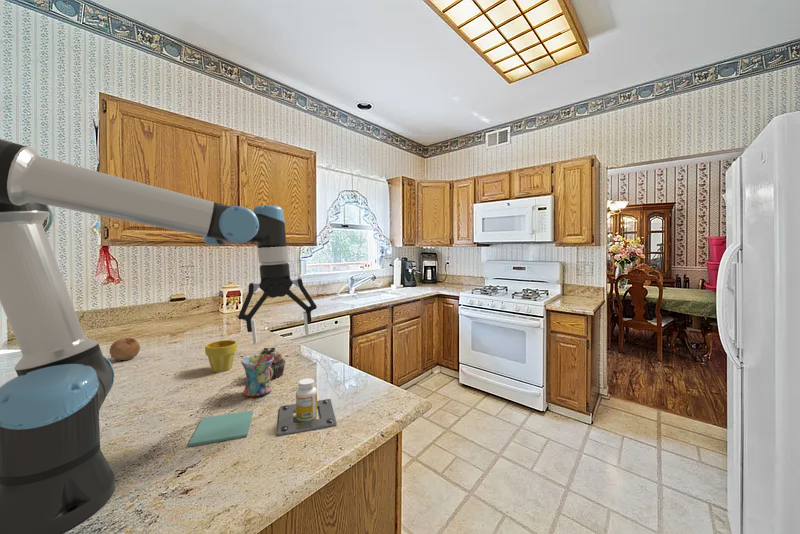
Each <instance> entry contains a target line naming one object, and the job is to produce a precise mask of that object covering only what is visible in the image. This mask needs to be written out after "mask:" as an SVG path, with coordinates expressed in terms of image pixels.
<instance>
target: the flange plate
mask: <svg viewBox="0 0 800 534" xmlns="http://www.w3.org/2000/svg"><path fill="white" fill-rule="evenodd" d="M317 409H319V414H320V418H316V419H312V420H310V421H298V422H294V413H296V403H293V404H287V405H285V404H284V405H280V406H279V415H278V416H279V417H278V425H277V436H278V437H279V436H283V435H289V434H294V433H301V432H306V431H312V430H318V429H323V428H324V429H325V428H330V427H336V426H337V419H336V415H335V412H334V411H335V410H334V407H333V405H332V399H331V398H326V399H320V400H317Z"/></svg>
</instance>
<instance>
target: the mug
mask: <svg viewBox="0 0 800 534" xmlns="http://www.w3.org/2000/svg"><path fill="white" fill-rule="evenodd" d="M273 360H274V357H273V356H271V355H260V354H254V355H251V356H247V357H245V358H243V359H242V360H241V362H240V363H241V365H242V366H243V369H244V371H245V376H246V377H245V378H246V379H245V380H246V383H245V387H244V390H243V394H244V395H245V396H247V397H260V396H263V395H267V394H269V393H271V391H272V390H273V388H274V385H273V384H272V380H271V379H272V376H273V370H272V368H271V365H272V362H273ZM270 371H271V375H270Z"/></svg>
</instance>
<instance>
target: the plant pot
mask: <svg viewBox="0 0 800 534" xmlns="http://www.w3.org/2000/svg"><path fill="white" fill-rule="evenodd" d="M204 351H205V353H204V354H205V356H207V358H208V361H209V365H210V368H211V371H212V372H214V373H222V372H223V373H224V372H226V371H230V370H231V369H233V364H234V359H235V354H236V352H237V351H238V342H237V341H236V340H232V339H223V340H216V341H212V342H209V343H207V344H205V345H204Z"/></svg>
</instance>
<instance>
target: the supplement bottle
mask: <svg viewBox="0 0 800 534" xmlns="http://www.w3.org/2000/svg"><path fill="white" fill-rule="evenodd" d="M317 389H318V388H316V387H315V380H314V378H302V379H300V380H298V389H297V390H296V392H295V404H296V412H295V414H296V419H297V420H298V421H299V422H304V421H310V420H315V418H316V417H317V415H318V408H317V401H318V391H317Z"/></svg>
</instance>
